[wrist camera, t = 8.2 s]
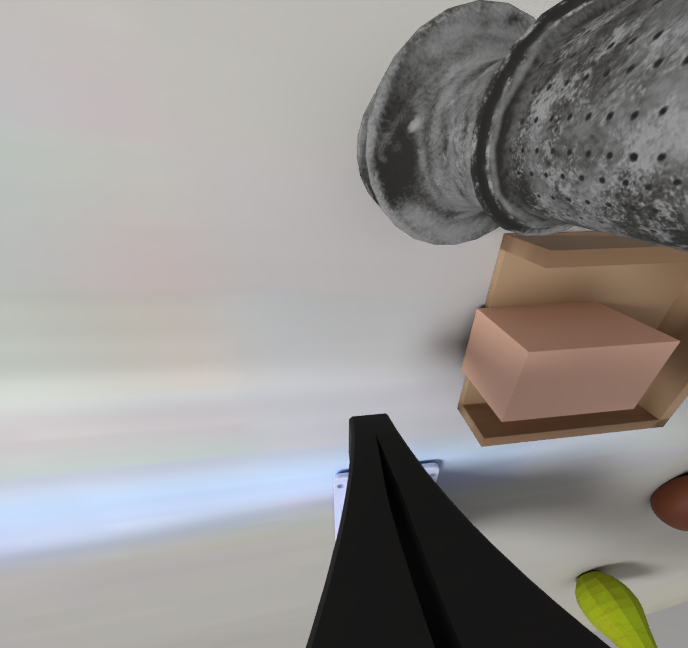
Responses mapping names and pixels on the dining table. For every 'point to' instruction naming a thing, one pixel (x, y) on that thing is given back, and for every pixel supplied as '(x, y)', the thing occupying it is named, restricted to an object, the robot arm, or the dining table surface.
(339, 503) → the robot arm
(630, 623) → the fruit
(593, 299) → the walnut tray
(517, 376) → the tall block
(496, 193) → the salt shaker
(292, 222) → the dining table surface
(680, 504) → the poop emoji
